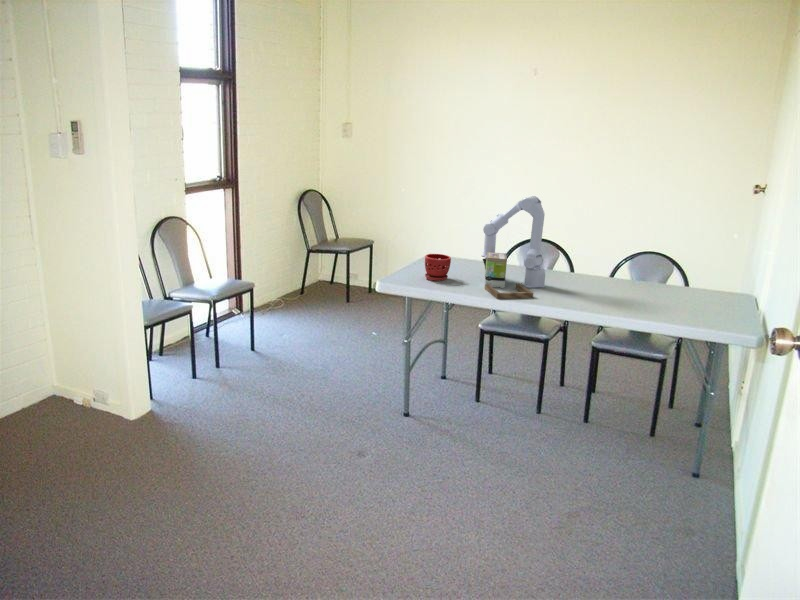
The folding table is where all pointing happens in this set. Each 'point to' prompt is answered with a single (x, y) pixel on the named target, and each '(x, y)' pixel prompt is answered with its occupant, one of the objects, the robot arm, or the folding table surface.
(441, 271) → the plant pot
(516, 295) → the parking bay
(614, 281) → the folding table surface
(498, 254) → the tea box
